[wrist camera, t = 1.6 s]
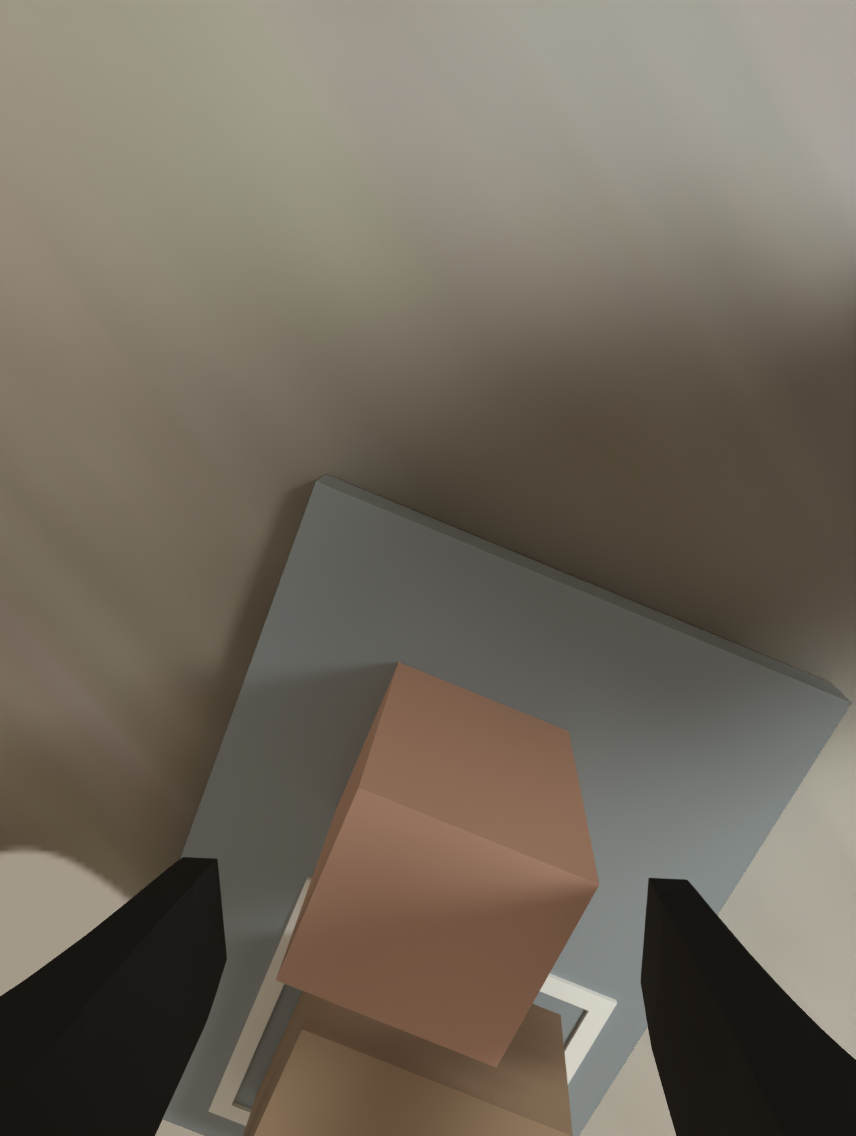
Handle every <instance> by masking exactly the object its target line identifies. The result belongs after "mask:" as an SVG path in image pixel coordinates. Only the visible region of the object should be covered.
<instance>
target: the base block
mask: <svg viewBox="0 0 856 1136" xmlns="http://www.w3.org/2000/svg"><path fill="white" fill-rule="evenodd" d="M243 1136H573V1133H572V1123H571V1113H570V1103H569V1093H568V1083H567V1073H566V1063H565V1053H564V1043H563V1033H562V1023H561V1015H560V1014H557V1013H555V1012H552V1011H550V1010H547V1009H545V1008H542V1007H540V1006H537V1005H535V1004H532V1005H531V1007H530V1009H529V1011H528V1012H527V1014H526V1016H525V1018H524V1020H523V1021H522V1023H521V1025H520V1027H519V1028H518V1030H517V1032H516V1034H515V1036H514V1037H513V1039H512V1041H511V1043H510V1044H509V1046H508V1048H507V1050H506V1051H505V1053H504V1055H503V1057H502V1059H501V1060H500V1062H499V1064H498V1066H497V1067H493V1066H491V1065H488V1064H486V1063H483V1062H481V1061H478V1060H476V1059H473V1058H471V1057H468V1056H466V1055H463V1054H460V1053H458V1052H455V1051H453V1050H450V1049H448V1048H445V1047H443V1046H440V1045H438V1044H435V1043H433V1042H430V1041H428V1040H425V1039H423V1038H420V1037H418V1036H415V1035H413V1034H410V1033H408V1032H405V1031H402V1030H400V1029H397V1028H395V1027H392V1026H390V1025H387V1024H385V1023H382V1022H380V1021H377V1020H375V1019H372V1018H370V1017H367V1016H365V1015H362V1014H360V1013H357V1012H355V1011H352V1010H350V1009H347V1008H344V1007H342V1006H339V1005H337V1004H334V1003H332V1002H329V1001H327V1000H324V999H322V998H319V997H317V996H314V995H312V994H309V993H307V992H304V991H302V994H301V996H300V998H299V1000H298V1003H297V1005H296V1007H295V1009H294V1012H293V1014H292V1016H291V1018H290V1020H289V1023H288V1025H287V1027H286V1029H285V1032H284V1034H283V1036H282V1038H281V1041H280V1043H279V1045H278V1047H277V1050H276V1052H275V1054H274V1056H273V1059H272V1061H271V1063H270V1065H269V1068H268V1070H267V1072H266V1074H265V1077H264V1079H263V1081H262V1083H261V1086H260V1088H259V1090H258V1092H257V1095H256V1097H255V1100H254V1103H253V1106H252V1110H251V1113H250V1116H249V1119H248V1122H247V1125H246V1128H245V1131H244V1134H243Z"/></svg>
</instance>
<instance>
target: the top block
mask: <svg viewBox="0 0 856 1136" xmlns="http://www.w3.org/2000/svg"><path fill="white" fill-rule="evenodd" d="M598 887H599V880H598V875H597V870H596V865H595V860H594V855H593V850H592V845H591V840H590V834H589V829H588V824H587V819H586V814H585V809H584V804H583V799H582V794H581V789H580V784H579V779H578V774H577V769H576V764H575V759H574V754H573V749H572V744H571V739H570V734H569V731H567V730H564V729H562V728H559V727H557V726H554V725H552V724H550V723H547V722H545V721H542V720H540V719H537V718H535V717H532V716H530V715H528V714H525V713H523V712H520V711H518V710H515V709H513V708H510V707H508V706H505V705H503V704H501V703H498V702H496V701H493V700H491V699H488V698H486V697H483V696H481V695H479V694H476V693H474V692H471V691H469V690H466V689H464V688H461V687H459V686H457V685H454V684H452V683H449V682H447V681H444V680H442V679H439V678H437V677H434V676H432V675H430V674H427V673H425V672H422V671H420V670H417V669H415V668H412V667H410V666H408V665H405V664H403V663H400V662H398V665H397V667H396V669H395V672H394V674H393V677H392V679H391V681H390V684H389V686H388V688H387V691H386V693H385V695H384V698H383V700H382V703H381V705H380V707H379V710H378V712H377V714H376V717H375V719H374V721H373V724H372V726H371V728H370V731H369V733H368V736H367V738H366V740H365V743H364V745H363V747H362V750H361V752H360V754H359V757H358V759H357V762H356V764H355V766H354V769H353V771H352V773H351V776H350V778H349V780H348V783H347V785H346V787H345V790H344V792H343V795H342V797H341V799H340V802H339V804H338V806H337V809H336V811H335V814H334V817H333V820H332V823H331V826H330V828H329V831H328V834H327V837H326V840H325V842H324V845H323V848H322V851H321V854H320V857H319V859H318V862H317V865H316V868H315V871H314V874H313V876H312V879H311V882H310V885H309V888H308V890H307V893H306V896H305V899H304V902H303V905H302V907H301V910H300V913H299V916H298V919H297V922H296V924H295V927H294V930H293V933H292V936H291V939H290V941H289V944H288V947H287V950H286V953H285V955H284V958H283V961H282V964H281V967H280V970H279V972H278V975H277V978H276V981H279V982H281V983H284V984H286V985H289V986H292V987H294V988H297V989H299V990H302V991H304V992H307V993H309V994H312V995H314V996H317V997H319V998H322V999H324V1000H327V1001H329V1002H332V1003H334V1004H337V1005H339V1006H342V1007H344V1008H347V1009H350V1010H352V1011H355V1012H357V1013H360V1014H362V1015H365V1016H367V1017H370V1018H372V1019H375V1020H377V1021H380V1022H382V1023H385V1024H387V1025H390V1026H392V1027H395V1028H397V1029H400V1030H402V1031H405V1032H408V1033H410V1034H413V1035H415V1036H418V1037H420V1038H423V1039H425V1040H428V1041H430V1042H433V1043H435V1044H438V1045H440V1046H443V1047H445V1048H448V1049H450V1050H453V1051H455V1052H458V1053H460V1054H463V1055H466V1056H468V1057H471V1058H473V1059H476V1060H478V1061H481V1062H483V1063H486V1064H488V1065H491V1066H493V1067H497V1066H498V1064H499V1062H500V1060H501V1059H502V1057H503V1055H504V1053H505V1051H506V1050H507V1048H508V1046H509V1044H510V1043H511V1041H512V1039H513V1037H514V1036H515V1034H516V1032H517V1030H518V1028H519V1027H520V1025H521V1023H522V1021H523V1020H524V1018H525V1016H526V1014H527V1012H528V1011H529V1009H530V1007H531V1005H532V1004H533V1002H534V1000H535V998H536V997H537V995H538V993H539V991H540V989H541V988H542V986H543V984H544V982H545V981H546V979H547V977H548V975H549V973H550V972H551V970H552V968H553V966H554V965H555V963H556V961H557V959H558V958H559V956H560V954H561V952H562V950H563V949H564V947H565V945H566V943H567V942H568V940H569V938H570V936H571V934H572V933H573V931H574V929H575V927H576V926H577V924H578V922H579V920H580V919H581V917H582V915H583V913H584V911H585V910H586V908H587V906H588V904H589V903H590V901H591V899H592V897H593V895H594V894H595V892H596V890H597V888H598Z"/></svg>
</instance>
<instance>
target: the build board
mask: <svg viewBox="0 0 856 1136" xmlns="http://www.w3.org/2000/svg"><path fill="white" fill-rule="evenodd" d="M398 662H400V663H403V664H405V665H408V666H410V667H412V668H415V669H417V670H420V671H422V672H425V673H427V674H430V675H432V676H434V677H437V678H439V679H442V680H444V681H447V682H449V683H452V684H454V685H457V686H459V687H461V688H464V689H466V690H469V691H471V692H474V693H476V694H479V695H481V696H483V697H486V698H488V699H491V700H493V701H496V702H498V703H501V704H503V705H505V706H508V707H510V708H513V709H515V710H518V711H520V712H523V713H525V714H528V715H530V716H532V717H535V718H537V719H540V720H542V721H545V722H547V723H550V724H552V725H554V726H557V727H559V728H562V729H564V730H567V731H569V734H570V739H571V744H572V749H573V754H574V759H575V764H576V769H577V774H578V779H579V784H580V789H581V794H582V799H583V804H584V809H585V814H586V819H587V824H588V829H589V834H590V840H591V845H592V850H593V855H594V860H595V865H596V870H597V875H598V880H599V887H598V888H597V890H596V892H595V894H594V895H593V897H592V899H591V901H590V903H589V904H588V906H587V908H586V910H585V911H584V913H583V915H582V917H581V919H580V920H579V922H578V924H577V926H576V927H575V929H574V931H573V933H572V934H571V936H570V938H569V940H568V942H567V943H566V945H565V947H564V949H563V950H562V952H561V954H560V956H559V958H558V959H557V961H556V963H555V965H554V966H553V968H552V970H551V972H550V973H549V975H548V977H547V979H546V981H545V982H544V984H543V986H542V988H541V989H540V991H539V993H538V995H537V997H536V998H535V1000H534V1002H533V1004H535V1005H537V1006H540V1007H542V1008H545V1009H547V1010H550V1011H552V1012H555V1013H557V1014H560V1015H561V1023H562V1033H563V1043H564V1053H565V1063H566V1073H567V1083H568V1093H569V1103H570V1113H571V1123H572V1133H573V1136H579V1135H580V1133H581V1132H582V1130H583V1128H584V1127H585V1125H586V1124H587V1122H588V1120H589V1119H590V1117H591V1116H592V1114H593V1112H594V1111H595V1109H596V1108H597V1106H598V1105H599V1103H600V1101H601V1100H602V1098H603V1097H604V1095H605V1093H606V1092H607V1090H608V1089H609V1087H610V1085H611V1084H612V1082H613V1081H614V1079H615V1078H616V1076H617V1074H618V1073H619V1071H620V1070H621V1068H622V1066H623V1065H624V1063H625V1062H626V1060H627V1058H628V1057H629V1055H630V1054H631V1052H632V1051H633V1049H634V1047H635V1046H636V1044H637V1043H638V1041H639V1039H640V1038H641V1036H642V1035H643V1033H644V1031H645V1030H646V1028H647V1027H648V1024H647V1019H646V1013H645V1006H644V1000H643V994H642V988H641V982H640V981H641V969H642V956H643V943H644V930H645V918H646V905H647V892H648V880H649V878H664V879H686V880H688V881H689V882H690V883H691V884H692V885H693V886H694V888H695V889H696V890H697V891H698V892H699V894H700V895H701V896H702V897H703V899H704V900H705V901H706V902H707V903H708V905H709V906H710V907H711V908H712V910H713V911H714V912H715V913H716V914H717V915H718V914H719V912H720V911H721V909H722V907H723V906H724V904H725V903H726V901H727V900H728V898H729V896H730V895H731V893H732V892H733V890H734V888H735V887H736V885H737V884H738V882H739V880H740V879H741V877H742V876H743V874H744V872H745V871H746V869H747V868H748V866H749V865H750V863H751V861H752V860H753V858H754V857H755V855H756V853H757V852H758V850H759V849H760V847H761V845H762V844H763V842H764V841H765V839H766V838H767V836H768V834H769V833H770V831H771V830H772V828H773V826H774V825H775V823H776V822H777V820H778V818H779V817H780V815H781V814H782V812H783V811H784V809H785V807H786V806H787V804H788V803H789V801H790V799H791V798H792V796H793V795H794V793H795V791H796V790H797V788H798V787H799V785H800V783H801V782H802V780H803V779H804V777H805V776H806V774H807V772H808V771H809V769H810V768H811V766H812V764H813V763H814V761H815V760H816V758H817V756H818V755H819V753H820V752H821V750H822V749H823V747H824V745H825V744H826V742H827V741H828V739H829V737H830V736H831V734H832V733H833V731H834V729H835V728H836V726H837V725H838V723H839V722H840V720H841V718H842V717H843V715H844V714H845V712H846V710H847V709H848V707H849V706H850V704H851V702H850V701H849V700H848V699H847V698H846V697H845V696H844V695H843V694H842V693H841V692H840V691H839V690H838V689H837V688H836V687H835V686H834V685H833V684H832V683H830V682H828V681H825V680H823V679H820V678H818V677H816V676H813V675H811V674H808V673H806V672H803V671H801V670H799V669H796V668H794V667H791V666H789V665H787V664H784V663H782V662H779V661H777V660H774V659H772V658H770V657H767V656H765V655H762V654H760V653H757V652H755V651H753V650H750V649H748V648H745V647H743V646H741V645H738V644H736V643H733V642H731V641H728V640H726V639H724V638H721V637H719V636H716V635H714V634H712V633H709V632H707V631H704V630H702V629H699V628H697V627H695V626H692V625H690V624H687V623H685V622H683V621H680V620H678V619H675V618H673V617H670V616H668V615H666V614H663V613H661V612H658V611H656V610H653V609H651V608H649V607H646V606H644V605H641V604H639V603H637V602H634V601H632V600H629V599H627V598H624V597H622V596H620V595H617V594H615V593H612V592H610V591H608V590H605V589H603V588H600V587H598V586H595V585H593V584H591V583H588V582H586V581H583V580H581V579H579V578H576V577H574V576H571V575H569V574H566V573H564V572H562V571H559V570H557V569H554V568H552V567H549V566H547V565H545V564H542V563H540V562H537V561H535V560H533V559H530V558H528V557H525V556H523V555H520V554H518V553H516V552H513V551H511V550H508V549H506V548H504V547H501V546H499V545H496V544H494V543H491V542H489V541H487V540H484V539H482V538H479V537H477V536H475V535H472V534H470V533H467V532H465V531H462V530H460V529H458V528H455V527H453V526H450V525H448V524H445V523H443V522H441V521H438V520H436V519H433V518H431V517H429V516H426V515H424V514H421V513H419V512H416V511H414V510H412V509H409V508H407V507H404V506H402V505H400V504H397V503H395V502H392V501H390V500H387V499H385V498H383V497H380V496H378V495H375V494H373V493H371V492H368V491H366V490H363V489H361V488H358V487H356V486H354V485H351V484H349V483H346V482H344V481H342V480H339V479H337V478H334V477H332V476H329V475H327V474H326V475H324V476H323V477H322V478H320V479H319V480H317V481H316V482H315V485H314V488H313V491H312V493H311V496H310V499H309V502H308V504H307V507H306V510H305V513H304V516H303V518H302V521H301V524H300V527H299V529H298V532H297V535H296V538H295V541H294V543H293V546H292V549H291V552H290V554H289V557H288V560H287V563H286V566H285V568H284V571H283V574H282V577H281V579H280V582H279V585H278V588H277V591H276V593H275V596H274V599H273V602H272V604H271V607H270V610H269V613H268V616H267V618H266V621H265V624H264V627H263V629H262V632H261V635H260V638H259V641H258V643H257V646H256V649H255V652H254V654H253V657H252V660H251V663H250V666H249V668H248V671H247V674H246V677H245V679H244V682H243V685H242V688H241V690H240V693H239V696H238V699H237V702H236V704H235V707H234V710H233V713H232V715H231V718H230V721H229V724H228V727H227V729H226V732H225V735H224V738H223V740H222V743H221V746H220V749H219V752H218V754H217V757H216V760H215V763H214V765H213V768H212V771H211V774H210V777H209V779H208V782H207V785H206V788H205V790H204V793H203V796H202V799H201V802H200V804H199V807H198V810H197V813H196V815H195V818H194V821H193V824H192V827H191V829H190V832H189V835H188V838H187V840H186V843H185V846H184V849H183V852H182V854H181V857H180V859H181V858H182V857H193V858H216V859H218V869H219V879H220V890H221V901H222V911H223V922H224V932H225V943H226V953H227V960H226V964H225V967H224V970H223V973H222V977H221V980H220V983H219V986H218V990H217V993H216V996H215V999H214V1002H213V1005H212V1008H211V1011H210V1014H209V1017H208V1020H207V1022H206V1024H205V1027H204V1029H203V1031H202V1033H201V1036H200V1038H199V1040H198V1042H197V1045H196V1047H195V1049H194V1051H193V1053H192V1056H191V1058H190V1060H189V1062H188V1065H187V1067H186V1069H185V1071H184V1073H183V1075H182V1078H181V1080H180V1082H179V1084H178V1086H177V1089H176V1091H175V1093H174V1095H173V1097H172V1099H171V1102H170V1104H169V1106H168V1108H167V1110H166V1112H165V1115H164V1117H163V1119H164V1120H166V1121H169V1122H172V1123H174V1124H177V1125H179V1126H182V1127H184V1128H187V1129H189V1130H192V1131H195V1132H197V1133H199V1134H202V1135H205V1136H243V1134H244V1131H245V1128H246V1125H247V1122H248V1119H249V1116H250V1113H251V1110H252V1106H253V1103H254V1100H255V1097H256V1095H257V1092H258V1090H259V1088H260V1086H261V1083H262V1081H263V1079H264V1077H265V1074H266V1072H267V1070H268V1068H269V1065H270V1063H271V1061H272V1059H273V1056H274V1054H275V1052H276V1050H277V1047H278V1045H279V1043H280V1041H281V1038H282V1036H283V1034H284V1032H285V1029H286V1027H287V1025H288V1023H289V1020H290V1018H291V1016H292V1014H293V1012H294V1009H295V1007H296V1005H297V1003H298V1000H299V998H300V996H301V994H302V990H299V989H297V988H294V987H292V986H289V985H286V984H284V983H281V982H279V981H276V978H277V975H278V972H279V970H280V967H281V964H282V961H283V958H284V955H285V953H286V950H287V947H288V944H289V941H290V939H291V936H292V933H293V930H294V927H295V924H296V922H297V919H298V916H299V913H300V910H301V907H302V905H303V902H304V899H305V896H306V893H307V890H308V888H309V885H310V882H311V879H312V876H313V874H314V871H315V868H316V865H317V862H318V859H319V857H320V854H321V851H322V848H323V845H324V842H325V840H326V837H327V834H328V831H329V828H330V826H331V823H332V820H333V817H334V814H335V811H336V809H337V806H338V804H339V802H340V799H341V797H342V795H343V792H344V790H345V787H346V785H347V783H348V780H349V778H350V776H351V773H352V771H353V769H354V766H355V764H356V762H357V759H358V757H359V754H360V752H361V750H362V747H363V745H364V743H365V740H366V738H367V736H368V733H369V731H370V728H371V726H372V724H373V721H374V719H375V717H376V714H377V712H378V710H379V707H380V705H381V703H382V700H383V698H384V695H385V693H386V691H387V688H388V686H389V684H390V681H391V679H392V677H393V674H394V672H395V669H396V667H397V665H398Z"/></svg>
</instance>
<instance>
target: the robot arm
mask: <svg viewBox="0 0 856 1136" xmlns="http://www.w3.org/2000/svg"><path fill="white" fill-rule="evenodd" d="M226 960H227V953H226V943H225V932H224V922H223V911H222V901H221V890H220V879H219V869H218V859H216V858H193V857H182V858H181V859H180V860H179V861H177V862H176V863H175V864H173V865H172V866H171V867H169V868H168V869H167V870H166V871H165V872H163V873H162V874H161V875H160V876H158V877H157V878H156V879H155V880H154V881H152V882H151V883H150V884H149V885H148V886H146V887H145V888H144V889H143V890H141V891H140V892H139V893H138V894H137V895H135V896H134V897H133V898H132V899H131V900H129V901H128V902H127V903H126V904H124V905H123V906H122V907H121V908H119V909H118V910H117V911H116V912H114V913H113V914H112V915H111V916H109V917H108V918H107V919H106V920H104V921H103V922H102V923H101V924H100V925H98V926H97V927H96V928H94V929H93V930H92V931H91V932H89V933H88V934H87V935H86V936H84V937H83V938H82V939H80V940H79V941H78V942H77V943H75V944H73V945H72V946H71V947H69V948H68V949H67V950H65V951H64V952H63V953H61V954H60V955H58V956H57V957H56V958H54V959H53V960H52V961H50V962H49V963H48V964H46V965H45V966H44V967H42V968H41V969H40V970H38V971H37V972H35V973H34V974H33V975H31V976H30V977H28V978H27V979H26V980H24V981H23V982H21V983H20V984H18V985H17V986H15V987H14V988H12V989H11V990H9V991H8V992H6V993H5V994H3V995H2V996H0V1136H155V1134H156V1132H157V1130H158V1128H159V1126H160V1123H161V1121H162V1119H163V1117H164V1115H165V1112H166V1110H167V1108H168V1106H169V1104H170V1102H171V1099H172V1097H173V1095H174V1093H175V1091H176V1089H177V1086H178V1084H179V1082H180V1080H181V1078H182V1075H183V1073H184V1071H185V1069H186V1067H187V1065H188V1062H189V1060H190V1058H191V1056H192V1053H193V1051H194V1049H195V1047H196V1045H197V1042H198V1040H199V1038H200V1036H201V1033H202V1031H203V1029H204V1027H205V1024H206V1022H207V1020H208V1017H209V1014H210V1011H211V1008H212V1005H213V1002H214V999H215V996H216V993H217V990H218V986H219V983H220V980H221V977H222V973H223V970H224V967H225V964H226ZM640 982H641V988H642V994H643V1000H644V1006H645V1013H646V1019H647V1024H648V1030H649V1035H650V1041H651V1047H652V1051H653V1054H654V1058H655V1062H656V1065H657V1069H658V1072H659V1076H660V1079H661V1083H662V1087H663V1090H664V1094H665V1097H666V1101H667V1104H668V1108H669V1111H670V1115H671V1118H672V1122H673V1125H674V1129H675V1132H676V1136H856V1060H855V1059H854V1058H853V1057H852V1056H851V1055H849V1054H848V1053H847V1052H846V1051H845V1050H844V1049H843V1048H841V1047H840V1046H839V1045H838V1044H837V1043H836V1042H835V1041H834V1040H833V1039H832V1038H831V1037H830V1036H829V1035H827V1034H826V1033H825V1032H824V1031H823V1030H822V1029H821V1028H820V1027H819V1026H818V1025H817V1024H816V1023H815V1022H814V1021H813V1020H812V1019H811V1018H810V1017H809V1016H808V1015H807V1014H806V1013H805V1012H804V1011H803V1010H802V1009H801V1008H800V1007H799V1006H798V1005H797V1004H796V1003H795V1002H794V1001H793V1000H792V999H791V998H790V997H789V996H788V995H787V994H786V993H785V991H784V990H783V989H782V988H781V987H780V986H779V985H778V984H777V983H776V982H775V981H774V980H773V979H772V977H771V976H770V975H769V974H768V973H767V972H766V971H765V970H764V969H763V968H762V966H761V965H760V964H759V963H758V962H757V961H756V960H755V959H754V958H753V957H752V955H751V954H750V953H749V952H748V951H747V950H746V949H745V947H744V946H743V945H742V944H741V943H740V942H739V941H738V939H737V938H736V937H735V936H734V935H733V933H732V932H731V931H730V930H729V929H728V928H727V926H726V925H725V924H724V923H723V922H722V920H721V919H720V918H719V917H718V916H717V914H716V913H715V912H714V911H713V910H712V908H711V907H710V906H709V905H708V903H707V902H706V901H705V900H704V899H703V897H702V896H701V895H700V894H699V892H698V891H697V890H696V889H695V888H694V886H693V885H692V884H691V883H690V882H689V881H688V880H686V879H664V878H649V880H648V892H647V905H646V918H645V930H644V943H643V956H642V969H641V981H640Z"/></svg>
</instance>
